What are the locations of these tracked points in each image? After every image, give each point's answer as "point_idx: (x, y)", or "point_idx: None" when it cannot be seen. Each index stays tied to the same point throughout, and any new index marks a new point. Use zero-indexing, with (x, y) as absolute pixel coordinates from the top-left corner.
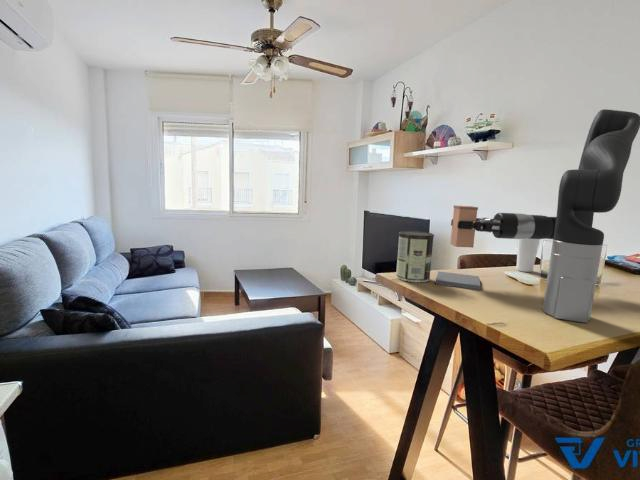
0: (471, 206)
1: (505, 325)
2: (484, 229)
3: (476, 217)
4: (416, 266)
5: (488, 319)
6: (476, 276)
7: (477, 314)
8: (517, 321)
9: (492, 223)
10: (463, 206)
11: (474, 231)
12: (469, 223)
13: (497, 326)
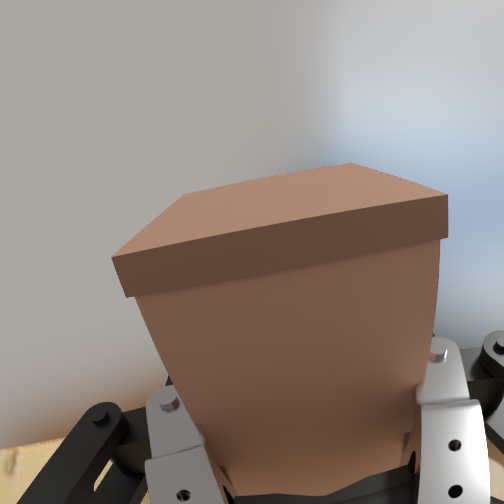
0: (337, 202)
1: (4, 470)
2: (105, 496)
3: (177, 391)
4: None
5: (25, 463)
6: None
7: (44, 461)
8: (6, 500)
9: (20, 500)
10: (234, 191)
11: (231, 478)
12: (169, 377)
13: (7, 457)
